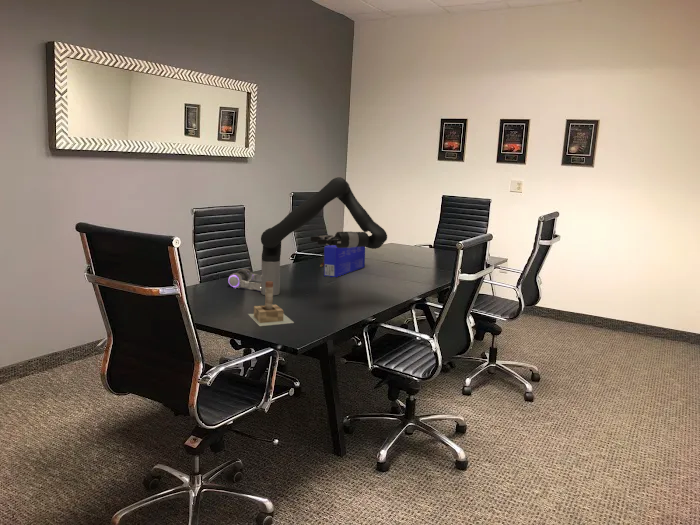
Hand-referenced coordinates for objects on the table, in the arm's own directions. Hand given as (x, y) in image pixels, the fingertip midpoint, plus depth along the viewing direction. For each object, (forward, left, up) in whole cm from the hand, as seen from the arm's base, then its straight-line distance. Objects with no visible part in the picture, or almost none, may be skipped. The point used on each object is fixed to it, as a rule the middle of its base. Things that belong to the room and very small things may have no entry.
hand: (314, 240), depth 247 cm
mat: (+10, -23, -32) cm, 41 cm away
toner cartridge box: (-72, +50, -32) cm, 93 cm away
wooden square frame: (+10, -24, -32) cm, 41 cm away
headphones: (-51, -15, -33) cm, 62 cm away
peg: (+10, -24, -32) cm, 41 cm away
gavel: (-95, +48, -33) cm, 112 cm away
